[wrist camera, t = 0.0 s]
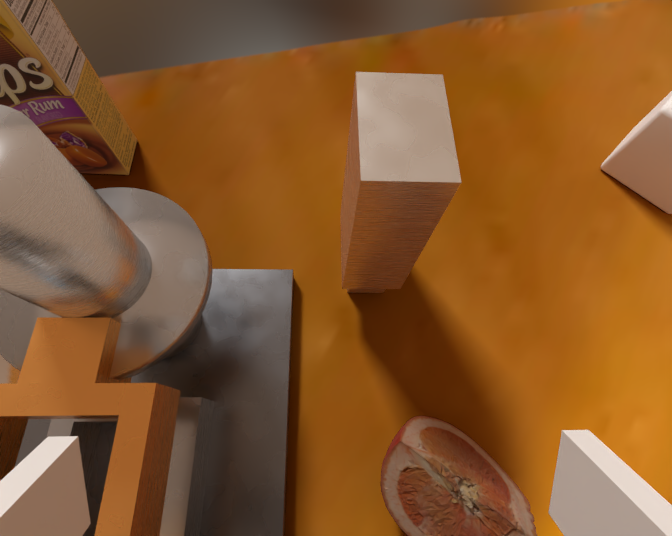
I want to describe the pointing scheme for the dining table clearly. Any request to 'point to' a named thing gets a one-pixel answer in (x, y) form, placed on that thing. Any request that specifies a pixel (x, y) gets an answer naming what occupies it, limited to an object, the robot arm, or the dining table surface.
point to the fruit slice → (449, 485)
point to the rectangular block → (394, 177)
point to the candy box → (60, 89)
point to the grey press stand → (139, 352)
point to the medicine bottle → (647, 157)
